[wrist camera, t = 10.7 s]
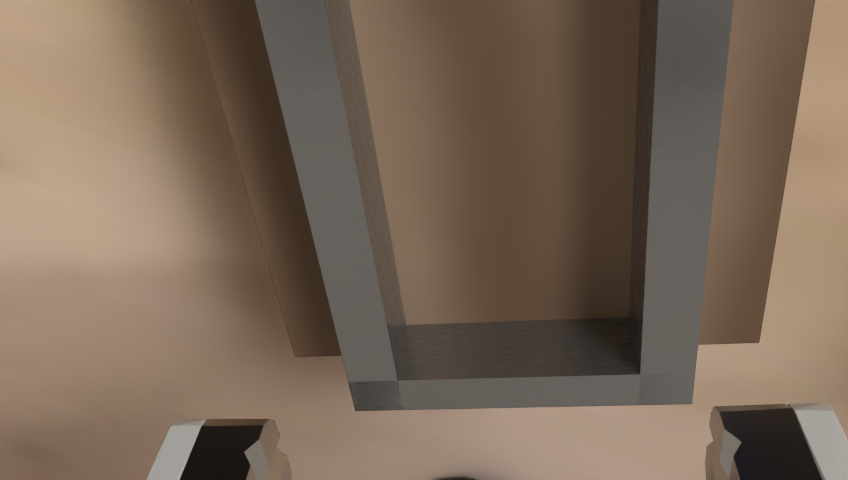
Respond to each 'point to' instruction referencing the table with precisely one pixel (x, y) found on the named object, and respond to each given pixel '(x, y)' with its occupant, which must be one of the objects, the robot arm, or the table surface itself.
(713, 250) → the hinge cabinet
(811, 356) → the table surface
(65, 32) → the table surface
